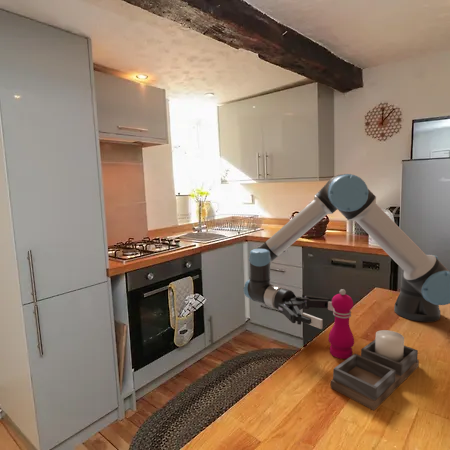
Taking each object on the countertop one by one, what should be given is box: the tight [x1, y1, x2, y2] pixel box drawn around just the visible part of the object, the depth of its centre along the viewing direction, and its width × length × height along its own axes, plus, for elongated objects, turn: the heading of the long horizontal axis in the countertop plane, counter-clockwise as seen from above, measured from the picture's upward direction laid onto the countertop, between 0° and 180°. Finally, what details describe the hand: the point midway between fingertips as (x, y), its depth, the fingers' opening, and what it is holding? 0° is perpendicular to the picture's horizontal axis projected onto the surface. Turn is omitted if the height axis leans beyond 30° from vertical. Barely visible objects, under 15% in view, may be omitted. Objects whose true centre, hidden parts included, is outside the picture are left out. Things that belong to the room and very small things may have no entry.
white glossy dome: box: [374, 329, 405, 363], centre depth 91 cm, size 7×7×7 cm
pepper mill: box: [328, 288, 355, 360], centre depth 98 cm, size 7×7×20 cm
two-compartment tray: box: [330, 338, 420, 411], centre depth 87 cm, size 26×11×5 cm, turn 130°
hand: (335, 317), depth 99 cm, fingers open, 13 cm apart
